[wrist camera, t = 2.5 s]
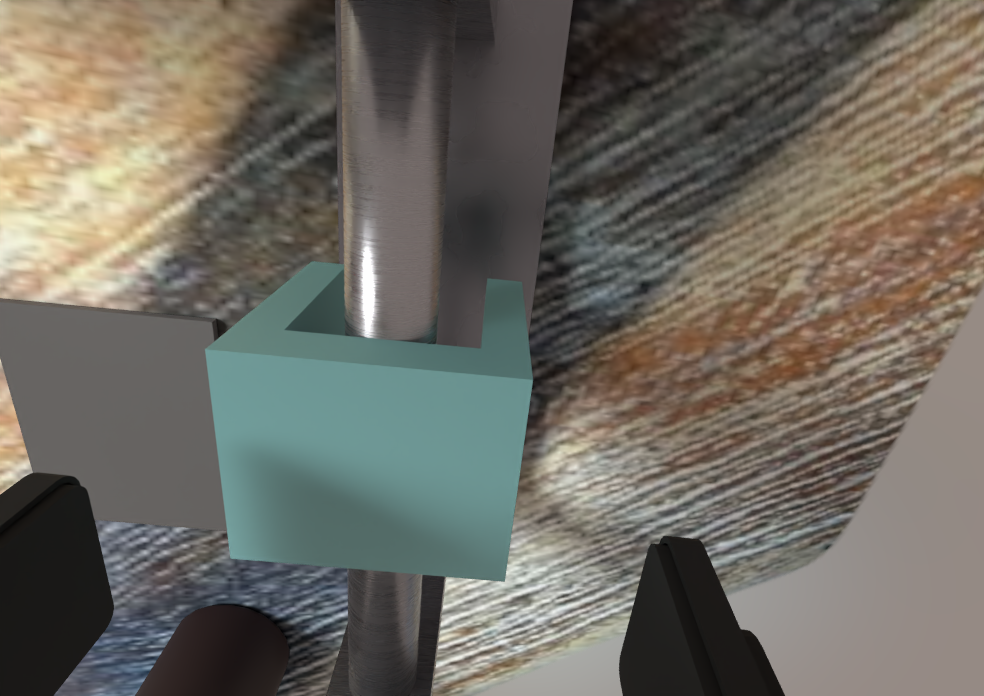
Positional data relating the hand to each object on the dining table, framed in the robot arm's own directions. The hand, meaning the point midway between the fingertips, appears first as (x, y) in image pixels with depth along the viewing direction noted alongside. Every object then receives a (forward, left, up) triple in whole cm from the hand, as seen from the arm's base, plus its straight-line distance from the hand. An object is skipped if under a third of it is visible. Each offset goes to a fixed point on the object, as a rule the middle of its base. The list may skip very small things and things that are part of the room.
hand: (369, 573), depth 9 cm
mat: (+9, -15, -16) cm, 24 cm away
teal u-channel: (0, -1, -8) cm, 8 cm away
